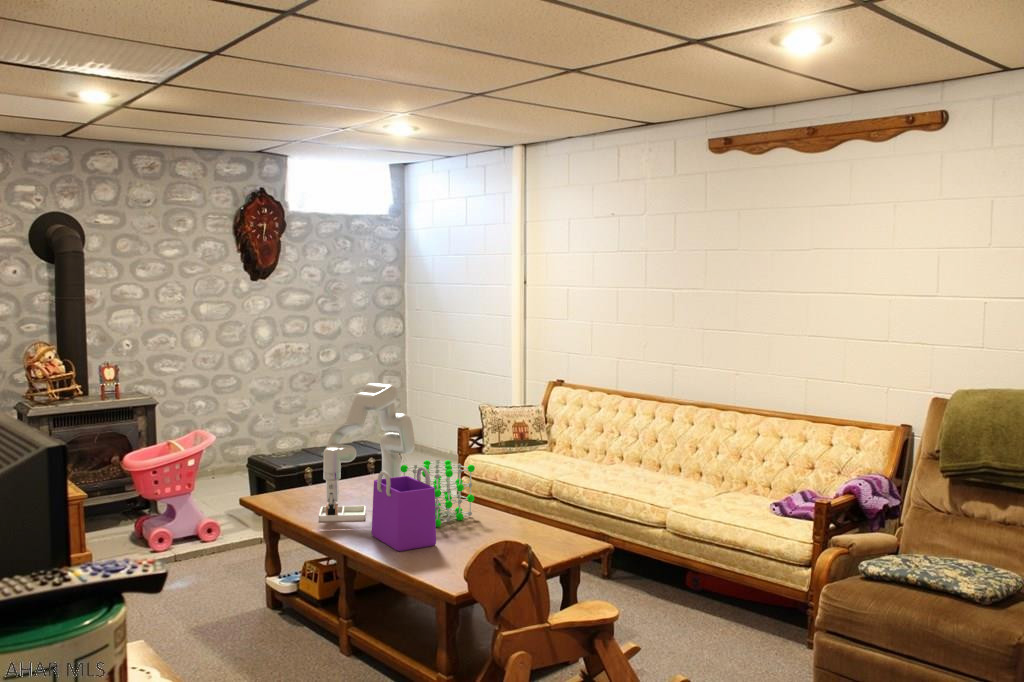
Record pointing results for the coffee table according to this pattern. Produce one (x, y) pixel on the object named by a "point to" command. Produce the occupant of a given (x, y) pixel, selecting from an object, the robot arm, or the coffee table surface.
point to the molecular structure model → (448, 491)
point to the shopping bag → (404, 511)
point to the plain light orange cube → (335, 509)
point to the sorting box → (344, 514)
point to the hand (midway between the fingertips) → (331, 515)
